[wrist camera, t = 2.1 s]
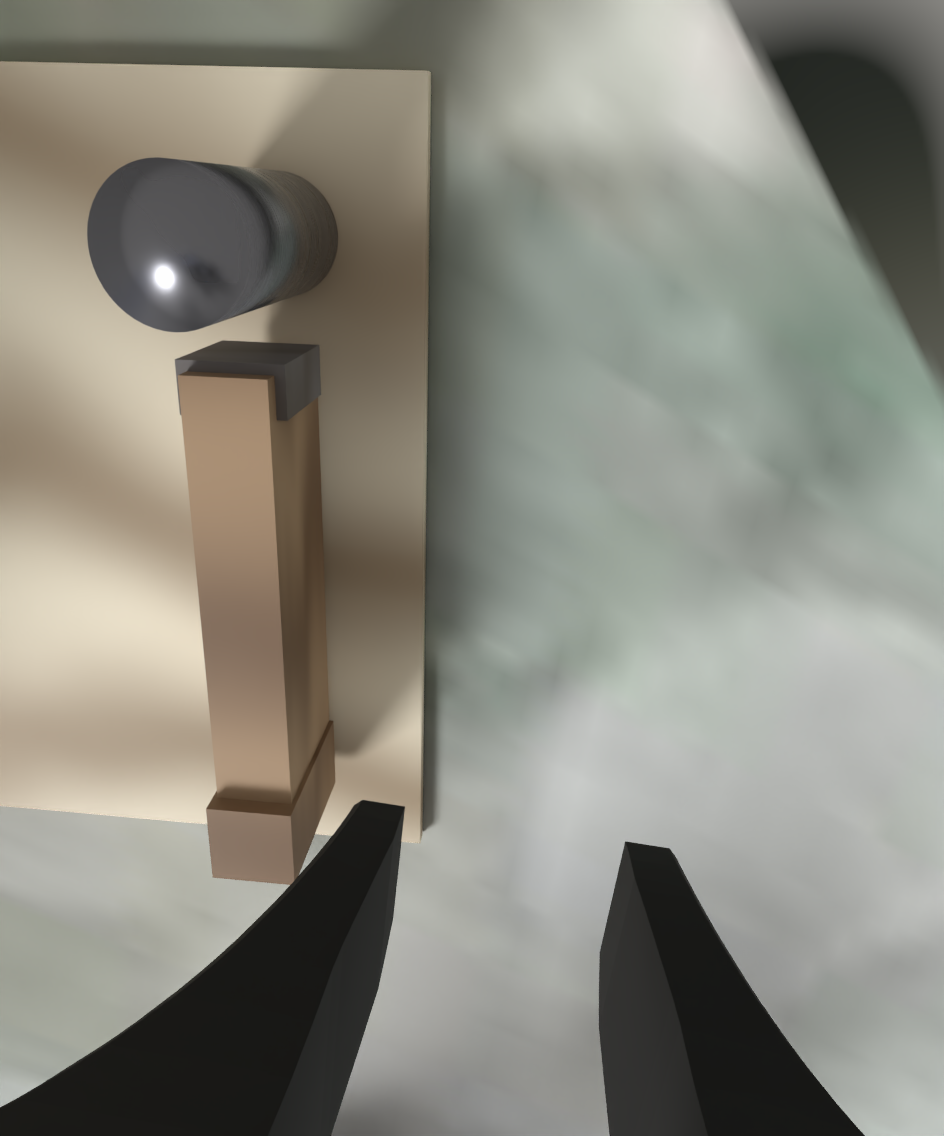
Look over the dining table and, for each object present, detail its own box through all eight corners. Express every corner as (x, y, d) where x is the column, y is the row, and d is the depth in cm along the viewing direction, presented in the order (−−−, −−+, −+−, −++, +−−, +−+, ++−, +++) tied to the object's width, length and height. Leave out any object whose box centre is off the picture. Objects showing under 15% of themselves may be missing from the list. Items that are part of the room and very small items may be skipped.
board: (422, 833, 24) (420, 843, 24) (-139, 783, 25) (-149, 792, 25) (431, 73, 17) (428, 70, 17) (-339, 56, 18) (-358, 53, 18)
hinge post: (344, 297, 19) (252, 336, 13) (233, 292, 19) (98, 328, 14) (341, 172, 18) (241, 159, 12) (225, 169, 18) (76, 154, 13)
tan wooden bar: (231, 336, 19) (155, 367, 15) (325, 341, 18) (270, 372, 15) (262, 775, 23) (207, 876, 19) (339, 782, 23) (299, 885, 19)
